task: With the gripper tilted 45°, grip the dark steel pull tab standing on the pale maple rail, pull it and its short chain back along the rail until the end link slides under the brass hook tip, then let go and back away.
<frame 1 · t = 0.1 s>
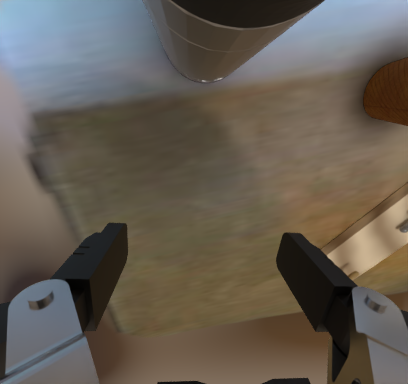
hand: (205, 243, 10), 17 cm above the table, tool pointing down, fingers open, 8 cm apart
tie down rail: (380, 228, 33), on the table
disposable coffee cup: (386, 91, 24), on the table
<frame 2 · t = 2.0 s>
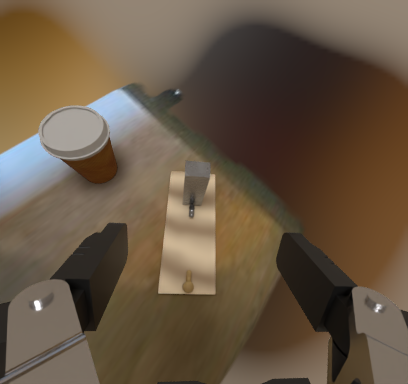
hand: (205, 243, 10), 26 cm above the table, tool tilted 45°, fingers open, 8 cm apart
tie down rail: (190, 227, 37), on the table
disposable coffee cup: (101, 170, 39), on the table
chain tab: (194, 181, 33), point 7 cm above the table, slide at 0.0 cm
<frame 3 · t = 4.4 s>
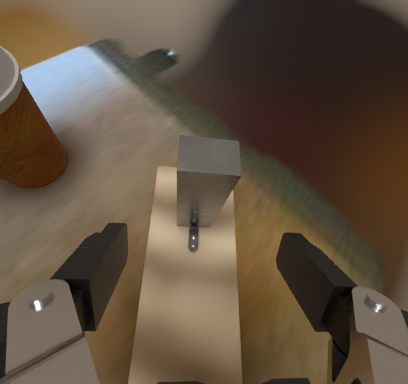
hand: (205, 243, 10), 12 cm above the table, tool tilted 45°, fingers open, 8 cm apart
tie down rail: (190, 266, 20), on the table
disposable coffee cup: (39, 165, 23), on the table
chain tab: (199, 183, 16), point 7 cm above the table, slide at 0.0 cm
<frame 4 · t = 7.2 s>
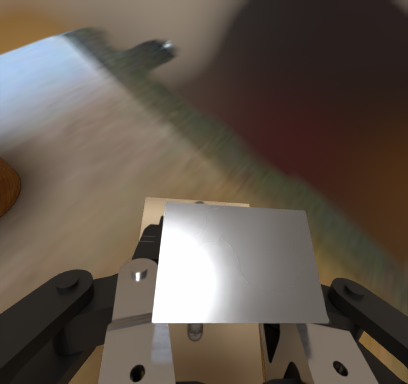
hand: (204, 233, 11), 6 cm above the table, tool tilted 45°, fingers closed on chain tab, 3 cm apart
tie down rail: (191, 353, 14), on the table
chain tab: (207, 249, 10), point 7 cm above the table, slide at 0.0 cm, touching gripper
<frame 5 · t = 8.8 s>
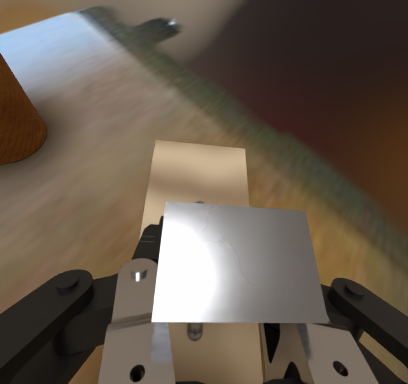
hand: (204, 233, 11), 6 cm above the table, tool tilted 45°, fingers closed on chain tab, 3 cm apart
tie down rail: (195, 261, 16), on the table
disposable coffee cup: (12, 138, 19), on the table
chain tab: (207, 249, 10), point 7 cm above the table, slide at 6.1 cm, touching gripper
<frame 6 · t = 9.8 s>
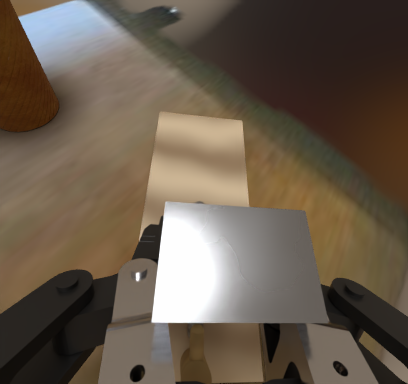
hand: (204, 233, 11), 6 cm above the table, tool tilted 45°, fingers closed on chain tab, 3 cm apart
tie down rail: (196, 217, 18), on the table
disposable coffee cup: (27, 110, 21), on the table
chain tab: (207, 249, 10), point 7 cm above the table, slide at 9.9 cm, touching gripper
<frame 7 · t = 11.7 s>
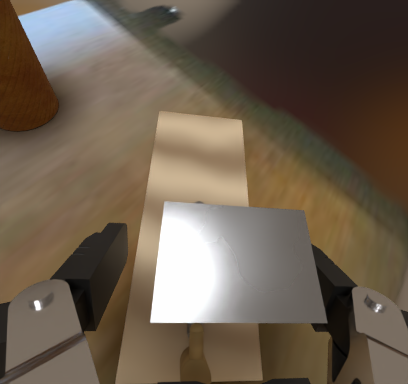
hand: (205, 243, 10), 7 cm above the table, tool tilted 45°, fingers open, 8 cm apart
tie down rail: (196, 216, 18), on the table
disposable coffee cup: (27, 110, 21), on the table
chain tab: (206, 249, 10), point 7 cm above the table, slide at 10.0 cm
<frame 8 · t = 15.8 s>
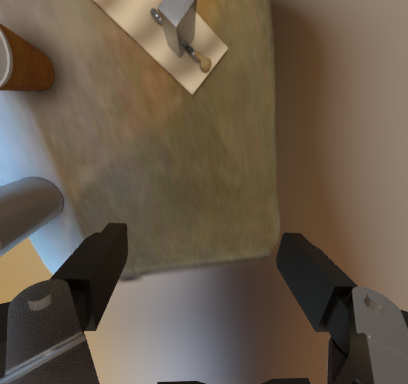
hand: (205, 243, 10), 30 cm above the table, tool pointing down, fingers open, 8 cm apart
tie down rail: (156, 20, 31), on the table
disposable coffee cup: (34, 69, 32), on the table
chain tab: (173, 19, 25), point 7 cm above the table, slide at 10.0 cm
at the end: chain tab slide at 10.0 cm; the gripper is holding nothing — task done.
